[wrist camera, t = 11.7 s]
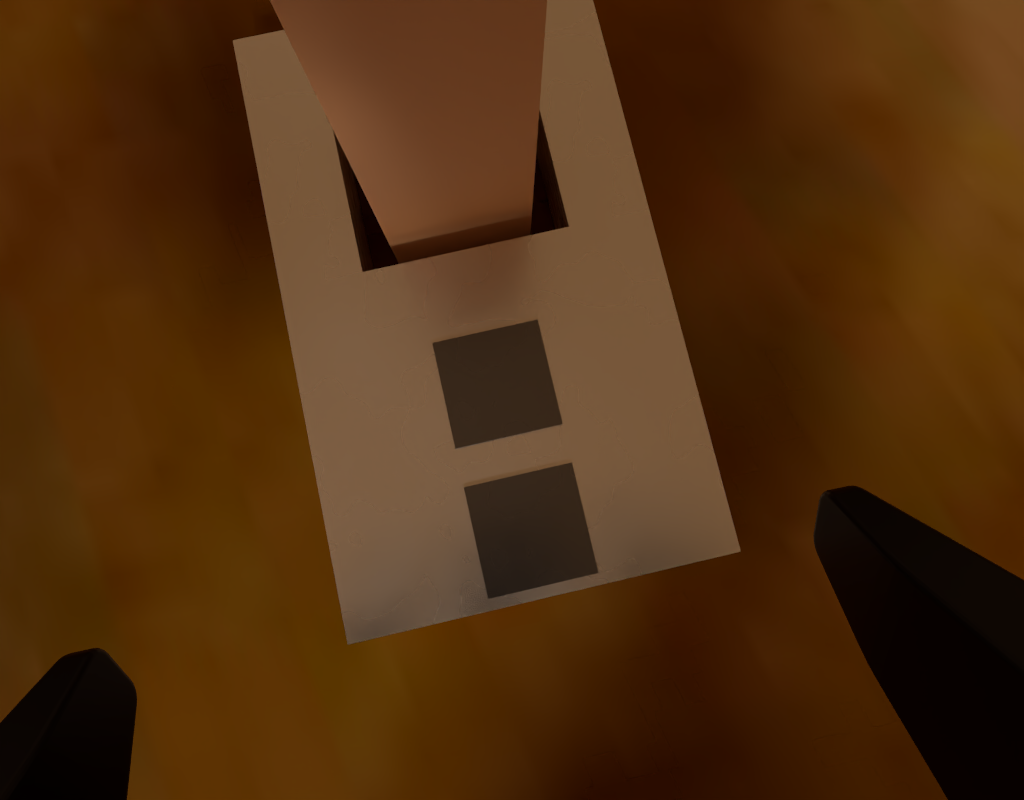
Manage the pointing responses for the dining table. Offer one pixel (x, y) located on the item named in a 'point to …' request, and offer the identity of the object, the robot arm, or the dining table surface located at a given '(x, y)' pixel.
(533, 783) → the dining table surface
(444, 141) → the square peg
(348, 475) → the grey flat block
